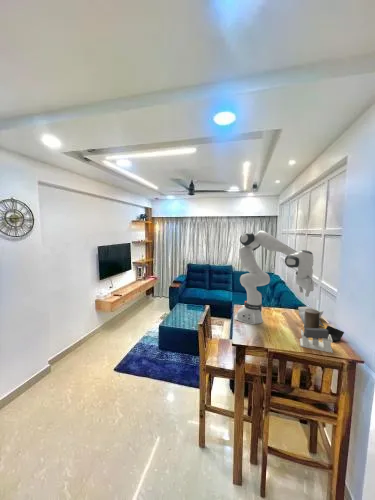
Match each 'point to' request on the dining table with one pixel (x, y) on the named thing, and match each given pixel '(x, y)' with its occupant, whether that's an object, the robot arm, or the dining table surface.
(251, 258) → the robot arm
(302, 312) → the sculpture
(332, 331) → the handheld gaming console
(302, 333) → the display stand
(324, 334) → the tall charcoal prism
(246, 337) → the dining table surface
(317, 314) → the pillar candle
